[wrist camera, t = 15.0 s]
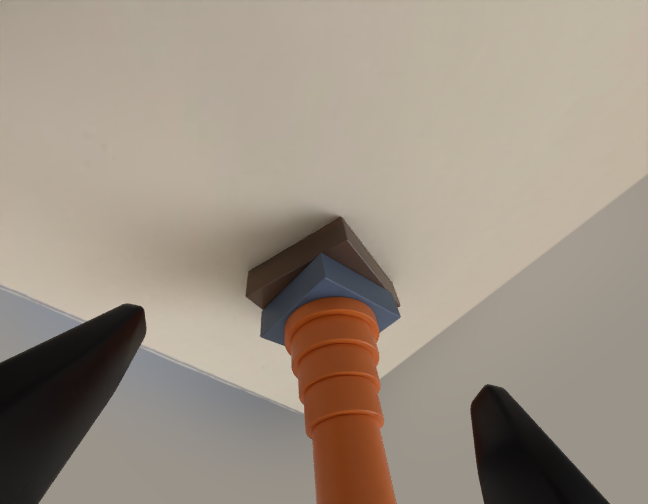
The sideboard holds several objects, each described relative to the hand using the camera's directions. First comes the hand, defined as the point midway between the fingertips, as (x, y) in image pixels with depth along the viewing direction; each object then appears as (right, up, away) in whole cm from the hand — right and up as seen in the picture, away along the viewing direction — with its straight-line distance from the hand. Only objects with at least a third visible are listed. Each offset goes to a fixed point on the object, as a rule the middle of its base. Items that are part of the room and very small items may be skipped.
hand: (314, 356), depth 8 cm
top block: (+1, -1, +14) cm, 14 cm away
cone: (+1, -2, +12) cm, 13 cm away
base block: (0, +1, +16) cm, 16 cm away
